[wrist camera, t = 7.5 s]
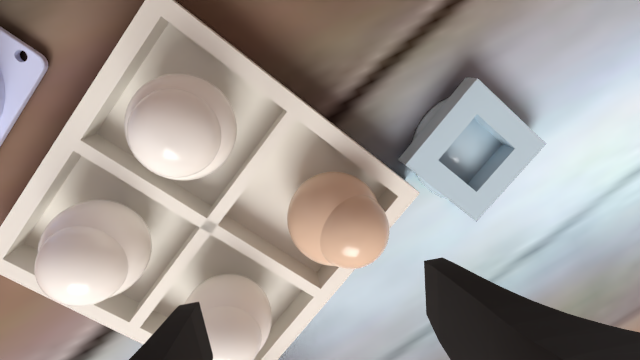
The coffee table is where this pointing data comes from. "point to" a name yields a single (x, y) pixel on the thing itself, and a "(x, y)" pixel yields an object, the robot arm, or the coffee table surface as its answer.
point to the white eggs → (132, 232)
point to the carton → (197, 184)
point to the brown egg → (337, 221)
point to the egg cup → (471, 148)
